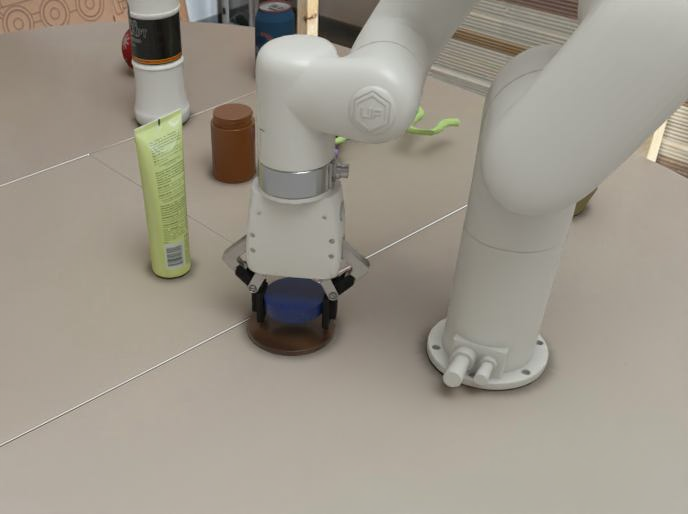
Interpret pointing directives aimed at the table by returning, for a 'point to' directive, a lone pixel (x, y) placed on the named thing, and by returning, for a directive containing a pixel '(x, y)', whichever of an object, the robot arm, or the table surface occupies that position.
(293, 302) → the jar lid
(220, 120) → the jam jar
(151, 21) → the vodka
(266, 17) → the soda can
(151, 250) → the tube
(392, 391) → the table surface
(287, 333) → the coaster
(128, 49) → the christmas ornament
